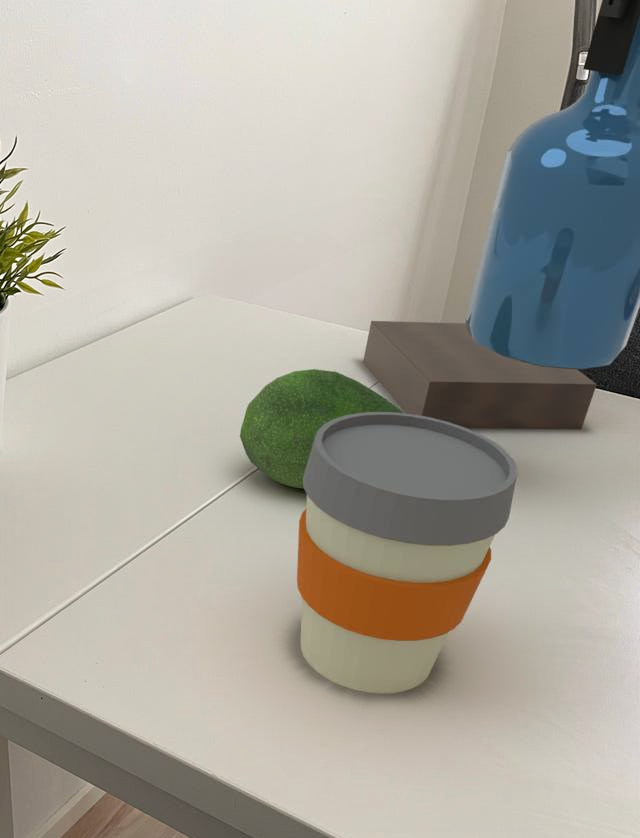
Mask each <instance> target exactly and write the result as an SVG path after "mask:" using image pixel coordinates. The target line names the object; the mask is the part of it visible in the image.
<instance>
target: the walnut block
mask: <svg viewBox="0 0 640 838" xmlns="http://www.w3.org/2000/svg"><path fill="white" fill-rule="evenodd" d="M362 364H363V365H364V366H365V367H366V369H367V370H368V371H369V372H370V373H371V375H373V377H374V378H375V379H376V380H377V382H378V383H379V384H380V385H381V386H382V388H384V390H385V391H386V392H387V393H388V394H389V395H390V397H391V398H392V399H393V400H394V401H395V402H396V404H397V405H398V406H399V407H400V408H401V409H402V411H403V413H405V414H414V415H419V416H425V417H430V418H434V419H438V420H442V421H446V422H450V423H453V424H456V425H459V426H462V427H465V428H467V429H477V430H479V429H483V430H485V429H486V430H487V429H488V430H489V429H493V430H497V429H498V430H500V429H501V430H503V429H504V430H516V429H517V430H582V428H583V426H584V423H585V420H586V417H587V414H588V411H589V409H590V405H591V403H592V399H593V397H594V395H595V391H596V388H597V385H598V384H597V383H595V381H593V380H592V379H590V377H588V376H586V374H584V373H582V372H581V371H580V370H579V369H565V368H553V367H541V366H537V365H533V364H529V363H525V362H521V361H517V360H513V359H509V358H506V357H504V356H502V355H500V354H498V353H496V352H494V351H492V350H490V349H488V348H486V347H484V346H482V345H480V344H477V343H475V341H474V340H473V338H472V336H471V335H470V333H469V332H468V330H467V325H466V322H465V323H462V322H431V321H430V322H427V321H395V320H394V321H392V320H391V321H390V320H389V321H388V320H386V321H385V320H371V321H370V325H369V330H368V335H367V340H366V344H365V350H364V354H363V360H362Z"/></svg>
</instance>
